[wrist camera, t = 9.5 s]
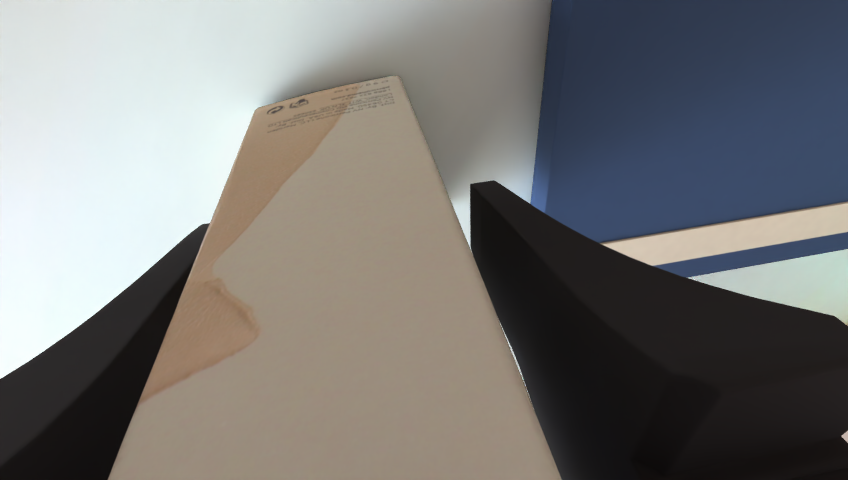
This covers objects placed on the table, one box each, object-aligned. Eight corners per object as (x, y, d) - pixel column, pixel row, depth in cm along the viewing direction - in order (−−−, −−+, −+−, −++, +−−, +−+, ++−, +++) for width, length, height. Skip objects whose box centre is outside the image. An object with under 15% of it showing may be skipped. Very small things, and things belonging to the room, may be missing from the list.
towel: (854, 227, 19) (884, 244, 18) (521, 285, 17) (532, 307, 16) (1184, -224, 10) (1278, -241, 9) (569, -176, 9) (599, -190, 8)
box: (251, 104, 11) (-56, 711, 2) (403, 69, 11) (615, 537, 3) (315, 247, 14) (278, 725, 6) (432, 219, 15) (568, 648, 6)
